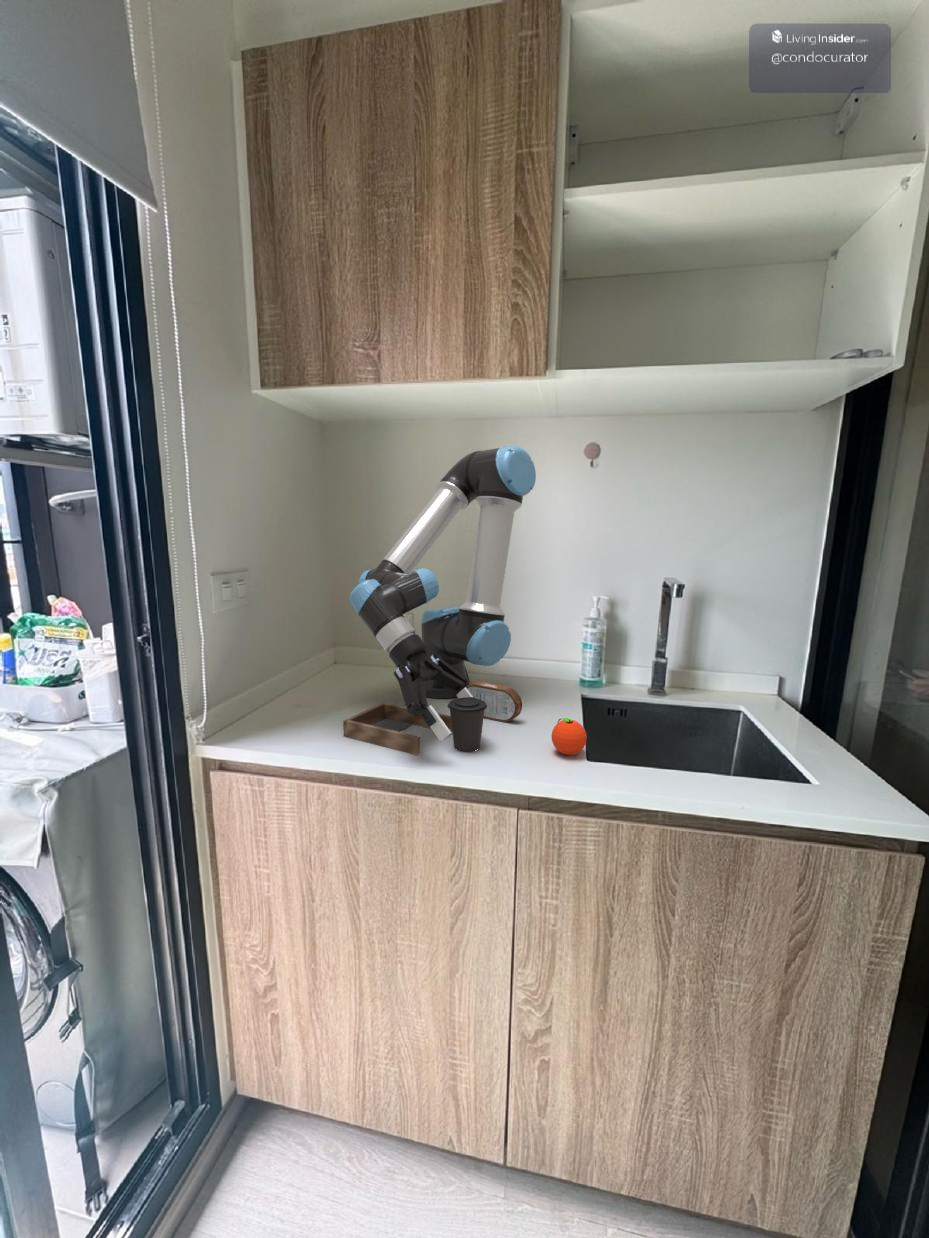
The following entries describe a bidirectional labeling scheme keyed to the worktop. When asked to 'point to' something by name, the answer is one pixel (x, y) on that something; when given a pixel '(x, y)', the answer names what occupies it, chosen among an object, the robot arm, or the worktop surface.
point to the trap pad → (393, 725)
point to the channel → (366, 732)
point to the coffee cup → (467, 722)
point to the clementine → (568, 736)
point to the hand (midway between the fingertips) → (463, 725)
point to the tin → (497, 700)
